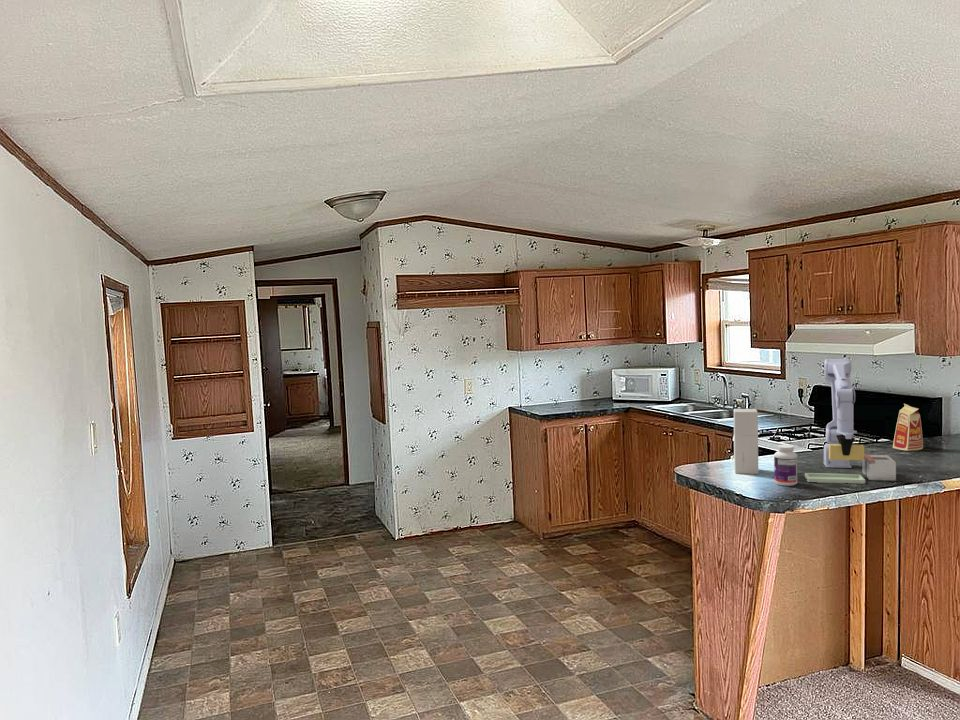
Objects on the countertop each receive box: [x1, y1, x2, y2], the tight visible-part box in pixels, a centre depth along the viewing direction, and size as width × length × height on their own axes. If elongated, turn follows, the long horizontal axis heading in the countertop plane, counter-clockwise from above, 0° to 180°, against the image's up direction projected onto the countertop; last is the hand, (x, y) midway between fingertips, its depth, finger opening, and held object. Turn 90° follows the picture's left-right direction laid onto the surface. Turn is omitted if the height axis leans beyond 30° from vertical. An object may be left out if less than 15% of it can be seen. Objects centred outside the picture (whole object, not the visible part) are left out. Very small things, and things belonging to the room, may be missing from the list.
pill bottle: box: [773, 444, 798, 487], centre depth 290 cm, size 8×8×14 cm
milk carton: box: [892, 403, 924, 452], centre depth 345 cm, size 9×9×20 cm
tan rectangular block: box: [828, 443, 865, 461], centre depth 299 cm, size 12×3×6 cm, turn 75°
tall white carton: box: [733, 408, 759, 475], centre depth 313 cm, size 9×9×25 cm
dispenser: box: [861, 453, 897, 482], centre depth 297 cm, size 9×13×7 cm
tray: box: [804, 472, 866, 485], centre depth 294 cm, size 20×10×2 cm, turn 74°
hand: (845, 454), depth 299 cm, fingers closed on tan rectangular block, 3 cm apart
